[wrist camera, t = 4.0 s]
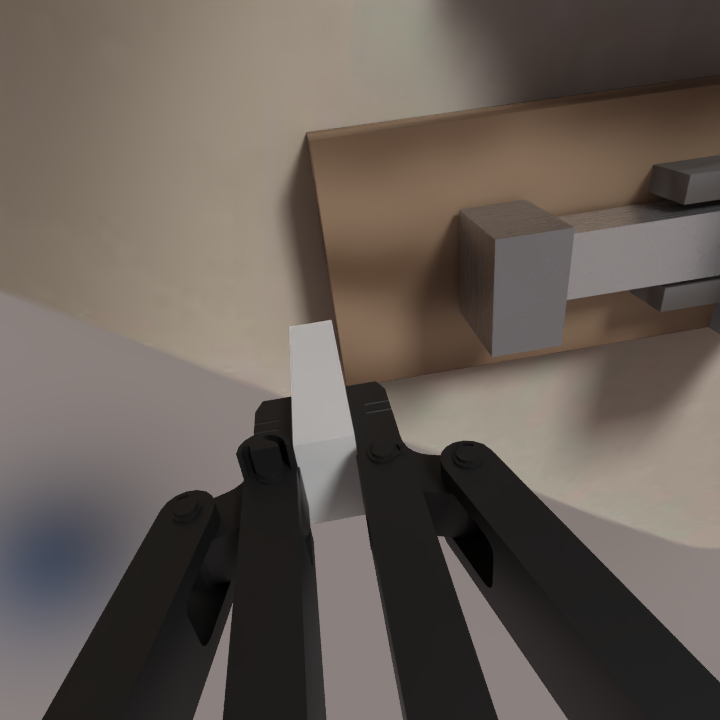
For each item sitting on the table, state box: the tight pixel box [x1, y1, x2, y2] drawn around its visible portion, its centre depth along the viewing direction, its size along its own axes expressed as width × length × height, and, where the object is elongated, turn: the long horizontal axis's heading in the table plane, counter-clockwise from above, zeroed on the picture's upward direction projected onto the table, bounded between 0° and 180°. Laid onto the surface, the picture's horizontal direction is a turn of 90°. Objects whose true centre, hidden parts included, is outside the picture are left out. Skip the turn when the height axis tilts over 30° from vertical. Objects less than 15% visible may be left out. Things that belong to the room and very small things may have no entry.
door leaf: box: [306, 75, 720, 386], centre depth 24 cm, size 12×20×5 cm, turn 96°
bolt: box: [459, 199, 720, 357], centre depth 22 cm, size 5×13×4 cm, turn 96°
